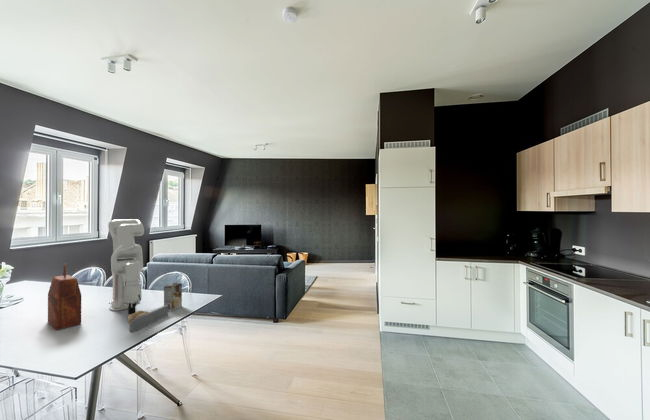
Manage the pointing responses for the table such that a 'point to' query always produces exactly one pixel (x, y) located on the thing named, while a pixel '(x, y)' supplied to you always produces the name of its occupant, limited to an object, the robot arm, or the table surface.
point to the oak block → (136, 315)
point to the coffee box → (173, 296)
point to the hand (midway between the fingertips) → (131, 313)
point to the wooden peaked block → (64, 302)
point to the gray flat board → (148, 318)
